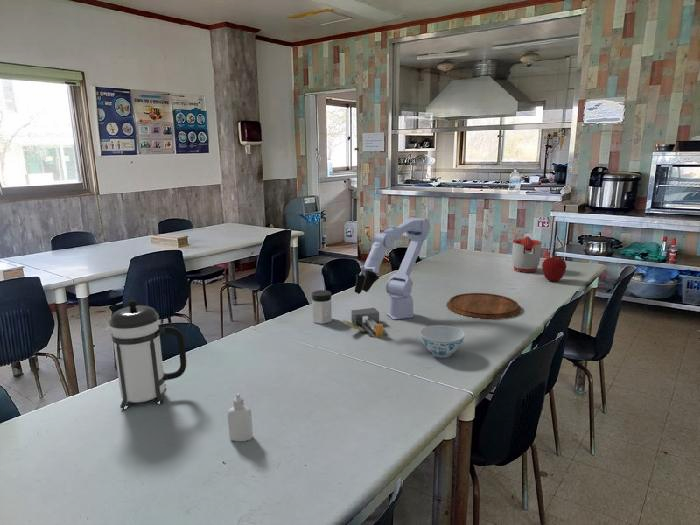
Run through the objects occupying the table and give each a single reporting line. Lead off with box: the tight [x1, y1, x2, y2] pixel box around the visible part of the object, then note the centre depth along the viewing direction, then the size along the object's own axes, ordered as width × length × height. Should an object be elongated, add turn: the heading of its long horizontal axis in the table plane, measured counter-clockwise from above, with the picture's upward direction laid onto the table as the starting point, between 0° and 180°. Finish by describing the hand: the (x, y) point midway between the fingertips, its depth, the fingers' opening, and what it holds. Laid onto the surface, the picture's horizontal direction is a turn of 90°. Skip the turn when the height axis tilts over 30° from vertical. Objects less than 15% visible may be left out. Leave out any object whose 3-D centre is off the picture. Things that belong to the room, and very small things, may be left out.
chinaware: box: [420, 324, 466, 358], centre depth 168 cm, size 15×15×8 cm
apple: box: [541, 256, 567, 282], centre depth 255 cm, size 12×12×13 cm
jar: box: [311, 289, 333, 325], centre depth 202 cm, size 9×8×12 cm
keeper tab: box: [342, 319, 367, 334], centre depth 189 cm, size 9×4×1 cm, turn 108°
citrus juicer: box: [511, 235, 543, 273], centre depth 276 cm, size 16×17×20 cm
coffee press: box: [104, 299, 187, 410], centre depth 139 cm, size 17×16×30 cm
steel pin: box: [364, 319, 384, 339], centre depth 189 cm, size 3×12×5 cm, turn 17°
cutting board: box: [446, 292, 522, 320], centre depth 216 cm, size 32×32×2 cm
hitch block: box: [350, 307, 387, 338], centre depth 194 cm, size 10×18×5 cm, turn 17°
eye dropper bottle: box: [227, 393, 254, 442], centre depth 120 cm, size 4×6×12 cm
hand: (360, 291), depth 184 cm, fingers open, 7 cm apart
